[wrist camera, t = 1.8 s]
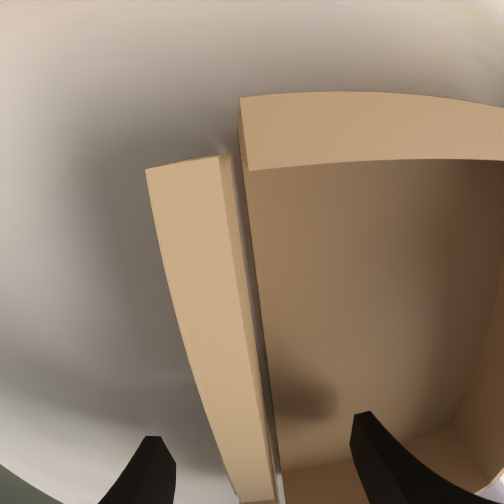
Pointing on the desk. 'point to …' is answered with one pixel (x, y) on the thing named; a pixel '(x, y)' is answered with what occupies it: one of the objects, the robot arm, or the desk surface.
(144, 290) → the desk surface
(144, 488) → the robot arm
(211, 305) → the flap
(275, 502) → the flap
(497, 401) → the carton
